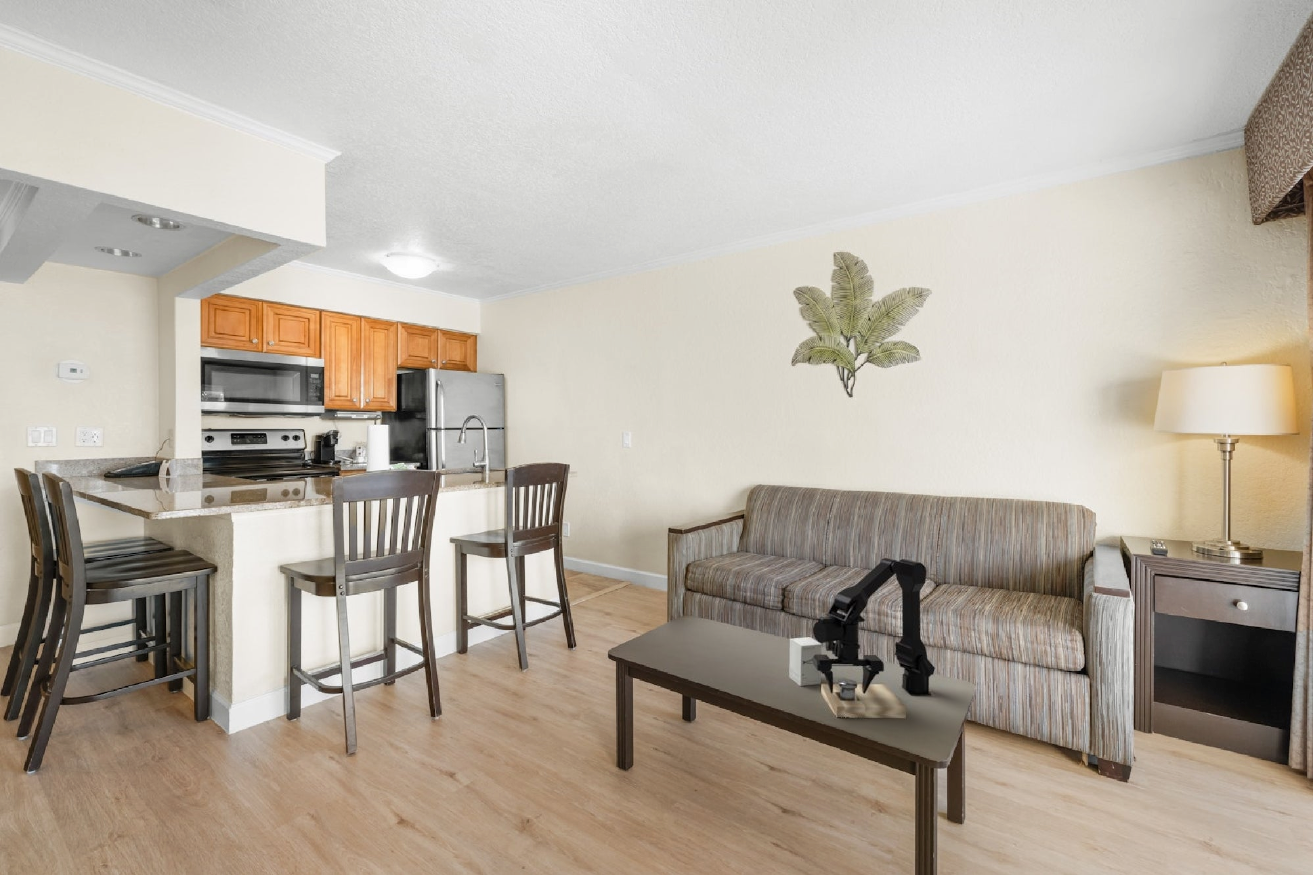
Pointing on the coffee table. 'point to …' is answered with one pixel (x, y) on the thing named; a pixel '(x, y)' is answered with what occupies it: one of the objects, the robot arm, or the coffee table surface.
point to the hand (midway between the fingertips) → (847, 692)
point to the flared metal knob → (847, 689)
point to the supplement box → (804, 661)
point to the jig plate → (865, 702)
